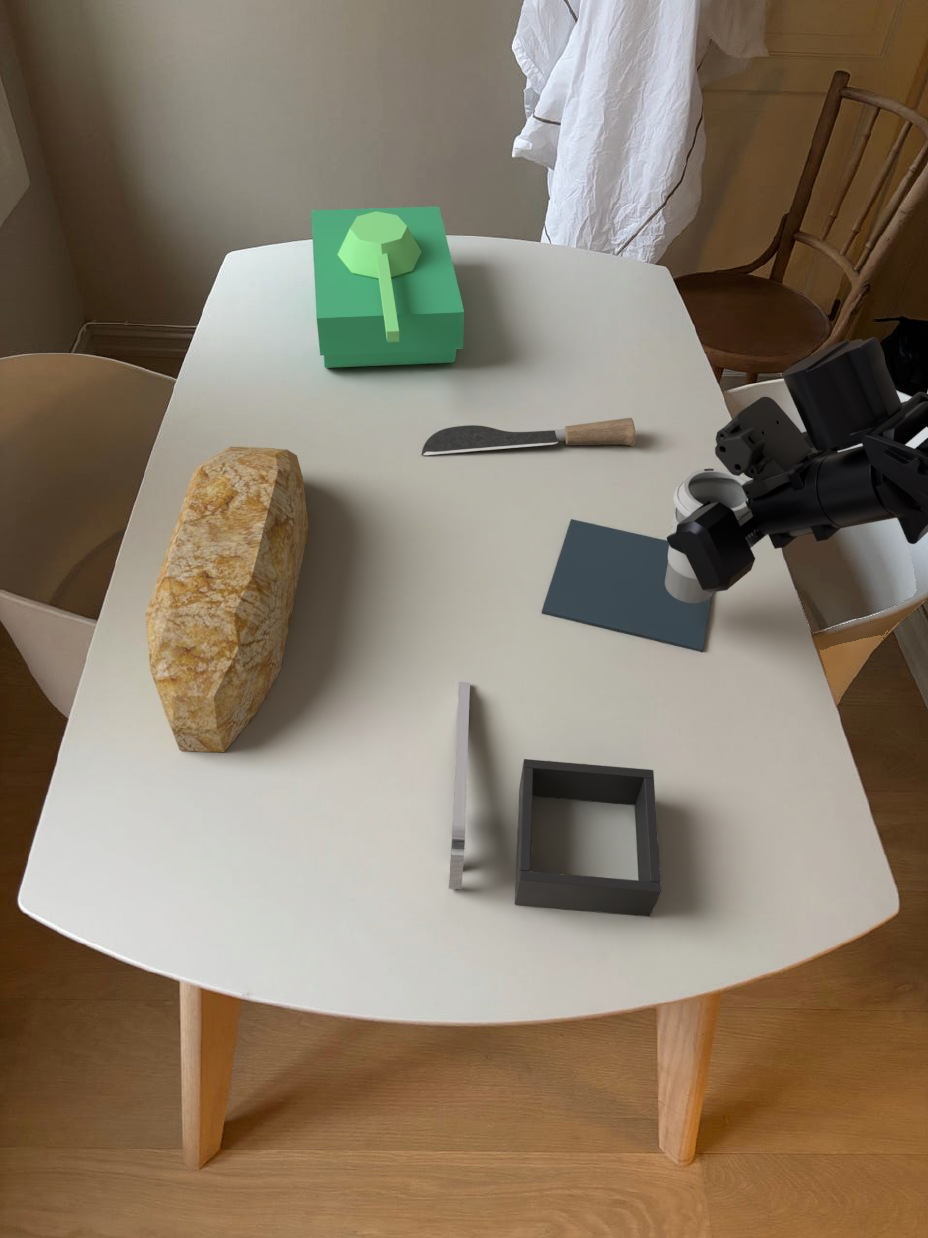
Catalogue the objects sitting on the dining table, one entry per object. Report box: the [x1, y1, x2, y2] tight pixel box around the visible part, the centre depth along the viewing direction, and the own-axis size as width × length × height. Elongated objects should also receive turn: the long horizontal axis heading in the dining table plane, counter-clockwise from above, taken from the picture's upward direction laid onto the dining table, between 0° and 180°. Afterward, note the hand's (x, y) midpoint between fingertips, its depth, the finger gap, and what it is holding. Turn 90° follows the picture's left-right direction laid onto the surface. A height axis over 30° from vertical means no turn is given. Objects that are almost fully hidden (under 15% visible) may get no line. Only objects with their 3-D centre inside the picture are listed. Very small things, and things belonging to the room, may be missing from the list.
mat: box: [541, 518, 712, 653], centre depth 96 cm, size 16×14×1 cm
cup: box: [665, 467, 750, 603], centre depth 85 cm, size 7×7×12 cm
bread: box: [145, 446, 310, 753], centre depth 89 cm, size 36×11×10 cm, turn 178°
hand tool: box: [421, 417, 636, 456], centre depth 110 cm, size 6×3×25 cm
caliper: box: [448, 681, 471, 890], centre depth 78 cm, size 20×1×6 cm, turn 178°
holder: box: [514, 758, 662, 917], centre depth 75 cm, size 11×11×4 cm
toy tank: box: [310, 206, 465, 369], centre depth 120 cm, size 18×12×35 cm
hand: (693, 523), depth 85 cm, fingers closed on cup, 7 cm apart
